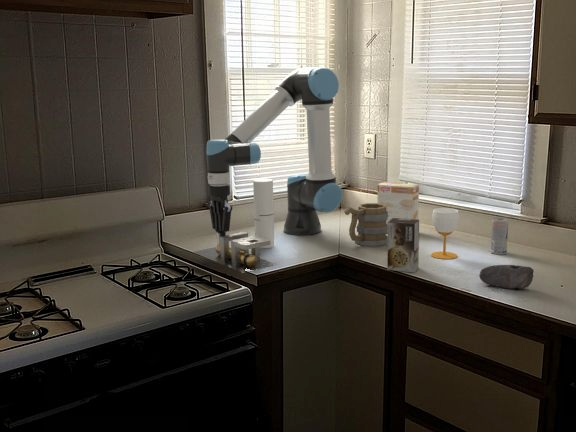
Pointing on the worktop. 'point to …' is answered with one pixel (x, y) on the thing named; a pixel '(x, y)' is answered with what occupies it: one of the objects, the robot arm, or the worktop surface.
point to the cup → (445, 228)
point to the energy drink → (499, 236)
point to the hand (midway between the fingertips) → (221, 249)
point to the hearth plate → (216, 257)
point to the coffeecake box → (399, 200)
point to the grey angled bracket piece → (225, 244)
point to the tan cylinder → (242, 257)
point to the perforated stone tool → (507, 276)
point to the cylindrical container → (264, 210)
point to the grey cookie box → (403, 245)
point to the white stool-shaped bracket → (247, 247)
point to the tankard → (369, 224)
